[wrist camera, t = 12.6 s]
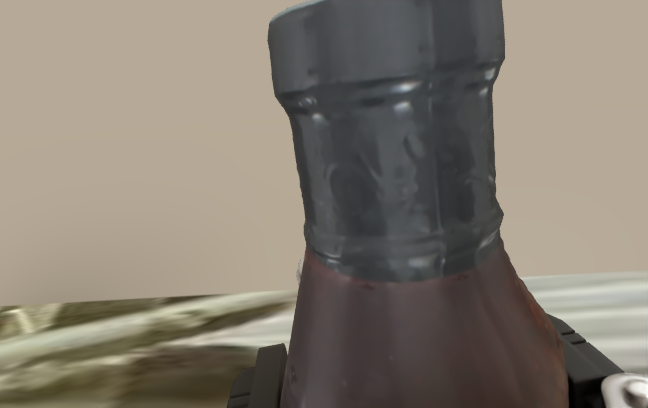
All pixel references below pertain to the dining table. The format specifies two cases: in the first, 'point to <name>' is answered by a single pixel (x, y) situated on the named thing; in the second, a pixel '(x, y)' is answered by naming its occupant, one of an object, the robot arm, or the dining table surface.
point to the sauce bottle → (404, 213)
